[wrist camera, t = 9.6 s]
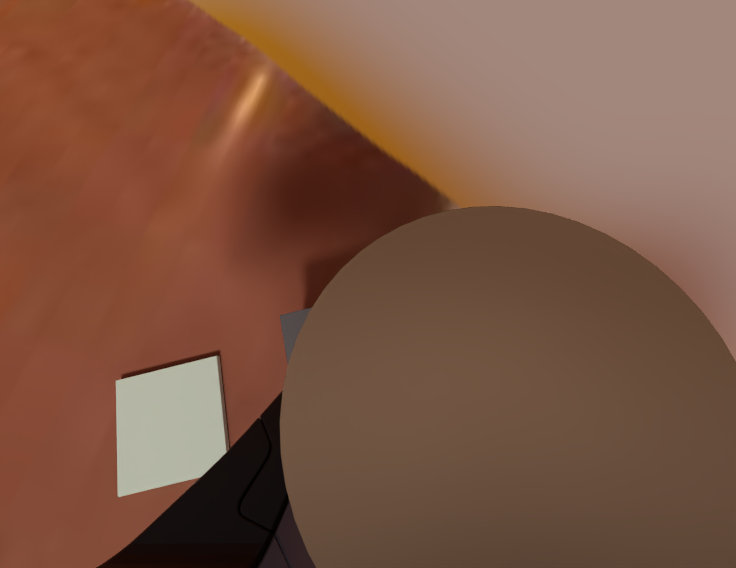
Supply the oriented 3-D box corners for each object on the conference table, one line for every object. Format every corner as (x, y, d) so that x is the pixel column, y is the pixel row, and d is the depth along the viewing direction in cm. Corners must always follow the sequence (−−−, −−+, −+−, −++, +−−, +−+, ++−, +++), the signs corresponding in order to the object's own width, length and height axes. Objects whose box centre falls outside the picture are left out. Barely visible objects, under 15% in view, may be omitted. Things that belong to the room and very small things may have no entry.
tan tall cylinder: (445, 446, 13) (758, 861, 2) (362, 413, 14) (203, 566, 2) (468, 360, 14) (780, 272, 3) (389, 333, 15) (368, 165, 3)
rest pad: (231, 468, 20) (228, 470, 20) (123, 494, 20) (117, 497, 20) (219, 356, 22) (216, 355, 22) (120, 380, 22) (115, 380, 22)
